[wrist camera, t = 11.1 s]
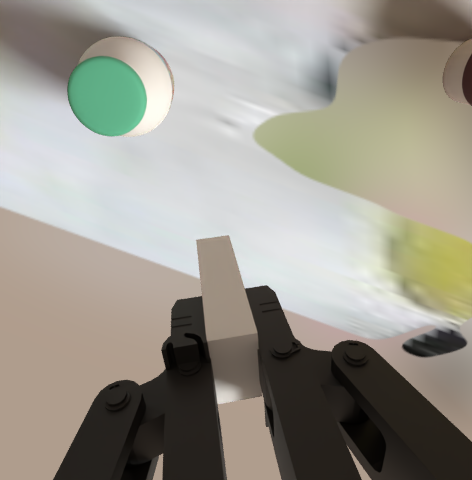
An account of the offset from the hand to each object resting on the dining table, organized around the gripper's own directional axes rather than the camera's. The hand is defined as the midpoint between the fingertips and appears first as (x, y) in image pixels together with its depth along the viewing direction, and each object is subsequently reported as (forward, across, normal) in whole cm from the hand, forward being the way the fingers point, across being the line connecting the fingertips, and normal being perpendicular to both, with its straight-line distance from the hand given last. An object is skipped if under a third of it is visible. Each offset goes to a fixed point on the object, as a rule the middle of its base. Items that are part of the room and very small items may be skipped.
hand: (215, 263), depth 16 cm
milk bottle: (+30, -5, +7) cm, 31 cm away
